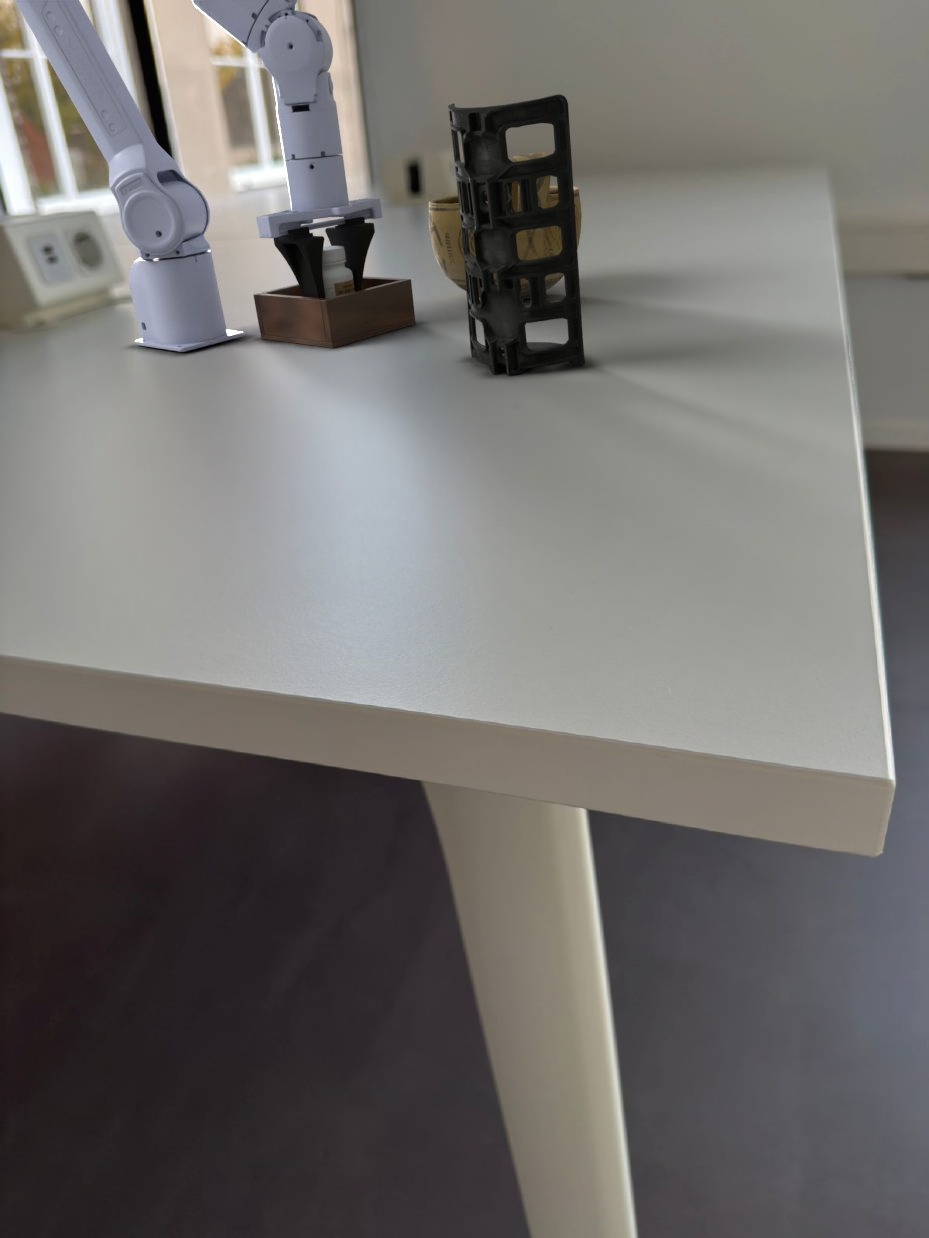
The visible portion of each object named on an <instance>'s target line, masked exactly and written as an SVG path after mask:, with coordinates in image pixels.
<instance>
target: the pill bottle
mask: <svg viewBox="0 0 929 1238" xmlns="http://www.w3.org/2000/svg"><path fill="white" fill-rule="evenodd" d="M345 258H346V256H345V250H344V247H343V246H331V245H327V246H323V256H322V273H323V282H324V290H325V299H327V298H331V297H335V296H339V295H343V294H347V293H351V292H355V289H354V281H353V274H352V271H351V270H350V269H349V268H346V267H345V264H344V262H346V260H345Z"/></svg>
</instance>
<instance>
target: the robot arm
mask: <svg viewBox="0 0 929 1238" xmlns="http://www.w3.org/2000/svg"><path fill="white" fill-rule="evenodd" d="M13 1H14V3H15V4H16V6H17V8H18V9H19V11H20V13H21V15H22V16H23V18H24V20H25V21H26V23H27V25H28V27H29V29H30V30H31V33H32V34H33V35H34V38H35V39H36V41H37V42H38V44H39V46H40V48H41V50H42V51H43V53H44V55H45V57H46V58H47V60H48V63H50V65H51V67H52V69H53V71H54V72H55V74H56V76H57V78H58V79H59V81H60V83H61V84H62V86H63V88H64V90H65V91H66V93H67V95H68V97H69V98H70V100H71V102H72V104H73V105H74V107H75V109H76V111H77V113H78V114H79V116H80V118H81V120H82V121H83V123H84V124H85V126H86V128H87V130H88V132H89V133H90V135H91V136H92V139H93V140H94V142H95V144H96V146H97V147H98V149H99V152H100V153H101V154H102V156H103V158H104V159H105V161H106V163H107V165H108V186H109V190H110V192H111V193H112V195H113V197H114V199H115V201H116V203H117V206H118V209H119V217H120V223H121V228H122V231H123V232H124V234H125V236H126V238H127V239H128V240H129V241H130V243H131V244H132V245H133V246H135V247H136V248H137V251H136V252H137V253H136V254H137V257H138V258H137V259H136V260H134V262H133V264H132V265H131V267H130V270H129V273H128V287H129V291H130V296H131V300H132V305H133V307H134V308H133V309H134V312H135V316H136V320H137V324H138V329H139V334H140V338H139V339H135V340H134V344H135V346H141V347H148V348H154V349H161V350H166V351H167V350H168V351H173V352H180V353H184V352H189V351H193V350H196V349H197V350H198V349H200V348H204V347H207V346H211V345H215V344H218V343H223V342H228V341H231V340H235V339H238V338H241V337H245V331H242V330H235V329H227V325H226V324H227V323H226V320H225V315H224V309H223V305H222V300H221V293H220V289H219V284H218V280H217V279H218V278H217V274H216V269H215V264H214V258H213V254H212V250H211V244H210V243H209V242H208V241H207V239H206V237H205V234H206V232H207V231H208V229H209V226H210V221H211V211H210V206H209V203H208V200H207V198H206V197H205V195H204V194H203V192H202V191H201V189H200V188H199V187H198V186H197V185H194V183H192V182H191V181H189V179H187V178H186V177H185V175H184V174H183V172H182V171H181V169H180V167H179V165H178V164H177V162H176V160H175V159H174V158H172V156H171V155H169V153H167V151H166V150H165V149H164V148H162V146H161V145H160V144H159V143H158V142H157V140H156V138H155V136H154V135H153V133H152V131H151V129H150V127H149V125H148V123H147V122H146V120H145V118H144V116H143V114H142V112H141V110H140V109H139V107H138V105H137V104H136V102H135V100H134V97H133V96H132V94H131V92H130V90H129V89H128V86H127V85H126V83H125V81H124V80H123V77H122V76H121V74H120V72H119V71H118V70H119V69H118V68H117V67H116V65H115V63H114V61H113V59H112V58H111V55H110V54H109V52H108V50H107V48H106V47H105V45H104V43H103V41H102V39H101V37H100V36H99V33H98V32H97V30H96V28H95V26H94V24H93V22H92V21H91V19H90V17H89V16H88V14H87V12H86V10H85V8H84V6H83V5H82V3H81V1H80V0H13ZM191 1H192V4H193V6H194V7H195V8H196V9H198V10H199V12H201V13H202V14H204V15H205V16H206V17H207V18H208V19H209V20H211V21H212V22H213V23H215V24H216V26H218V27H219V28H221V29H222V30H223V31H224V32H226V33H227V34H228V35H229V36H230V37H232V38H233V39H234V40H236V42H237V43H239V44H241V46H243V47H244V48H245V49H247V50H248V51H249V52H250V53H252V54H259V57H260V60H261V62H262V65H263V66H264V68H265V69H266V71H267V72H268V73H269V74H270V75H271V77H272V84H273V90H274V97H275V103H276V105H275V111H276V118H277V124H278V130H279V131H278V132H279V137H280V143H281V150H282V157H283V163H284V169H285V176H286V181H287V188H288V194H289V201H290V209H285V210H281V211H278V212H272V213H269V214H263V215H258V216H257V215H256V224H257V230H258V235H259V238H260V239H273V244H274V246H275V248H276V249H277V250H278V252H279V253H280V254H281V256H282V257H283V259H284V260H285V261H286V264H287V265H288V266H289V268H290V270H291V272H292V273H293V275H294V278H295V279H296V282H297V284H299V286H300V288H301V291H302V293H303V296H304V297H313V298H325V290H324V282H323V273H322V256H323V247H325V246H324V244H325V240H326V239H325V237H324V236H323V235H314V233H313V232H310V231H312V230H319V229H323V228H325V229H324V232H325V234H326V236H327V238H328V239H327V240H328V241H329V243H330V246H343V247H344V250H345V256H346V258H345V260H346V262H344V264H345V267H346V268H349V269H350V270H351V271H352V274H353V281H354V289H355V291H359V290H362V280H363V276H364V272H365V265H366V260H367V256H368V253H369V249H370V246H371V243H372V241H373V238H374V235H376V230H375V229H376V228H375V223H374V222H366V221H367V220H378V219H382V218H383V213H382V204H381V197H365V198H359V199H352V200H350V199H349V193H348V185H347V177H346V170H345V162H344V154H343V146H342V139H341V137H342V136H341V129H340V123H339V114H338V108H337V102H336V100H335V99H334V85H333V84H334V83H333V81H332V75H331V72H329V70H330V68H331V66H332V62H333V57H334V48H333V42H332V39H331V36H330V34H329V32H328V31H327V28H326V27H325V26H324V25H323V23H321V22H320V20H319V18H318V17H317V16H316V15H314V14H312V13H310V12H307V11H300V10H296V5H297V3H298V0H191ZM328 218H335V219H330V220H329V219H328ZM319 219H328V220H324V221H319V222H314V220H319Z"/></svg>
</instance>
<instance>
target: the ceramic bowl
mask: <svg viewBox="0 0 929 1238" xmlns="http://www.w3.org/2000/svg"><path fill="white" fill-rule="evenodd" d="M545 156H548V154H547V152H542V151H541V152H533V153H527V154H519V155H514V156H513V157H512V158H511V159H510V160H511V161H512V162H516V161H524V160H530V159H536V158H541V157H545ZM536 185H537V197H538V204H539V207H542V208H549V207H553V206H555V205H556V204H557V203H558V202H559V197H558V185H551V176H544V177H540V178H538V179H537V182H536ZM573 188H574V204H575V220H576V236H577V250H578V249H579V246H580V239H581V233H582V204H581V195H580V189H579V187H578V186H574V185H573ZM511 193H512V202H513V209H514V211H515V212H519V211H521V200H520V189H519V183H518V182H517V181H516V182H512V192H511ZM485 201H486V203H487V204H488V200H487V193H486V192H485ZM428 230H429V236H430V243H431V247H432V251H433V255H434V257H435V260H436V262H437V264H438V267H439V268H440V269H441V271H442V273H443V275H444V276H445V277H446V278H447V279H448V280H449V281H451V282H452V283H453V284H454V285H455V286H457V288H460V290H463V291H465V292H467V291H466V276H465V263H464V251H463V240H462V229H461V219H460V209H459V200H458V194H455V195H447V196H442V197H437V198H434V199H431V200H429V201H428ZM468 236H469V247H470V256H471V257H473V258H475V249H474V241H473V234H472V233H471V231H470V230H468ZM516 241H517V251H518V257H519V259H521V260H523V261H524V260H533V259H539V258H545V257H549V256H554V255H558V254H559V253H560V252H561V250H562V239H561V228H560V227H558V226H550V227H546V228H538V229H531V230H523V231H520V232H518V233H517V234H516ZM493 275H494V281H495V284H497V279H496V274H495V273H493ZM563 278H564V274H562V273H554V274H549V275H547V276H546V277H545V289H546V292H547V291H549V289H551V288H553V287H554V286H555V285H556V284H557V283H559V281H561V280H562V279H563ZM520 280H521V292H522V300H526V299H530V291H529V281H528V280H526V279H524V278H522V279H520ZM477 281H478V280H477ZM478 291H479V287H478ZM479 298H480V295H479Z"/></svg>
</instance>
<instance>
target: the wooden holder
mask: <svg viewBox="0 0 929 1238" xmlns="http://www.w3.org/2000/svg"><path fill="white" fill-rule="evenodd" d="M412 285H413V284H412V279H411V278H396V277H381V276H379V277H378V276H366V275H365V276H364V275H363V280H362V290H359V291H355V292H351V293H347V294H343V295H339V296H335V297H331V298H327V299H325V298H313V297H304V296H303V293H302V291H301V288H300V286H299V284H298V283H296V284H293V285H287V286H283V287H278V288H275V289H271V290H266V291H261V292H258V293H253V300H254V307H255V313H256V317H257V323H258V328H259V335H260V338H261V339H262V340H268V341H269V340H270V341H276V342H285V343H292V344H300V345H308V346H314V347H321V348H329V349H334V348H338V347H341V346H345V345H348V344H351V343H355V342H358V341H361V340H366V339H368V338H372V337H376V336H379V335H383V334H386V333H388V332H392V331H395V330H400V329H402V328H406V327H409V326H412V325H416V323H417V322H416V312H415V303H414V295H413V294H414V293H413V286H412Z"/></svg>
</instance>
